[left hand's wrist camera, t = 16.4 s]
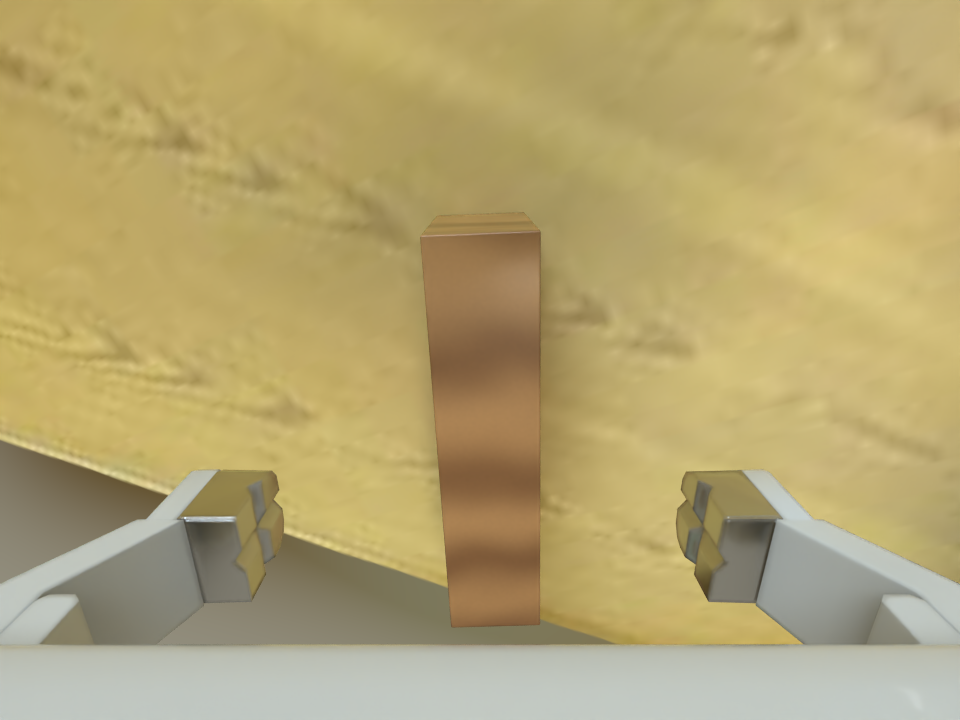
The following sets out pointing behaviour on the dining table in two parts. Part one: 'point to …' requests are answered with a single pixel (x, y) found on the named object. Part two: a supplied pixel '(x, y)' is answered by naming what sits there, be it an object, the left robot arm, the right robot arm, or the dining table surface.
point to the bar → (487, 410)
